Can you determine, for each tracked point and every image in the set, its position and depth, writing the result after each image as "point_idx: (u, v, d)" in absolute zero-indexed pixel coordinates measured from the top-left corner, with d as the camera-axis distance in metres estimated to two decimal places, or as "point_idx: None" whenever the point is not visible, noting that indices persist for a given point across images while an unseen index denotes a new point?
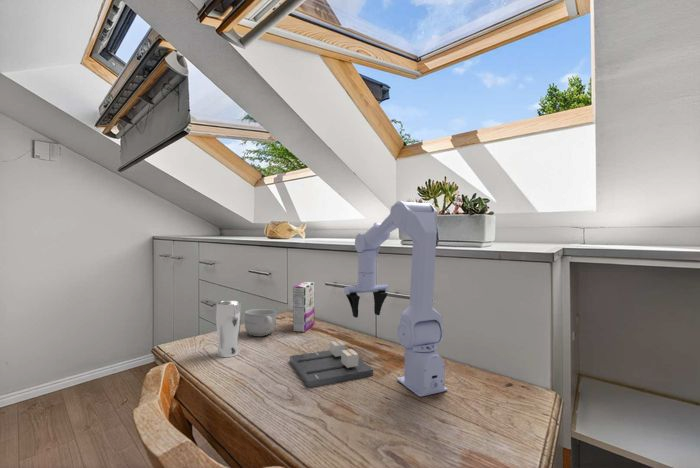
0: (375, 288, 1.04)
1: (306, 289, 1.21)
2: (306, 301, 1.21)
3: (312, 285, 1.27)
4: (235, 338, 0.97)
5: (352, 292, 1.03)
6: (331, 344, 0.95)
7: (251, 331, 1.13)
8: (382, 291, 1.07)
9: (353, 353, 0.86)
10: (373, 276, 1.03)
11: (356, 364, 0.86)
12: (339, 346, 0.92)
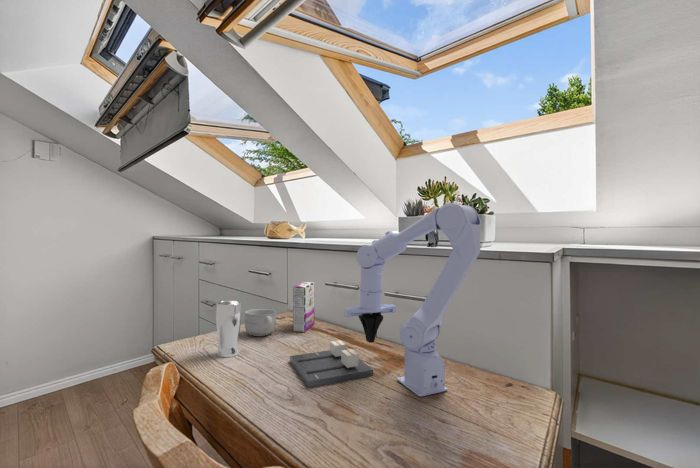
0: (381, 310, 0.88)
1: (306, 289, 1.21)
2: (306, 301, 1.21)
3: (312, 285, 1.27)
4: (235, 338, 0.97)
5: (353, 314, 0.87)
6: (331, 344, 0.95)
7: (251, 331, 1.13)
8: (389, 312, 0.91)
9: (353, 353, 0.86)
10: (378, 295, 0.87)
11: (356, 364, 0.86)
12: (339, 346, 0.92)
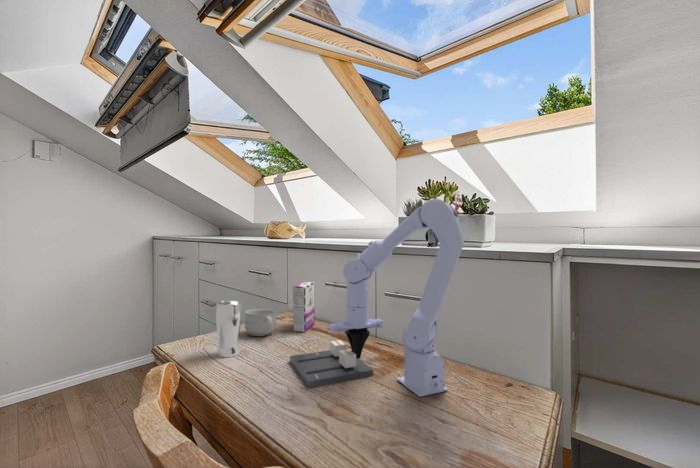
0: (367, 325, 0.86)
1: (306, 289, 1.21)
2: (306, 301, 1.21)
3: (312, 285, 1.27)
4: (235, 338, 0.97)
5: (339, 330, 0.85)
6: (331, 344, 0.95)
7: (251, 331, 1.13)
8: (375, 327, 0.89)
9: (351, 353, 0.86)
10: (364, 311, 0.86)
11: (354, 364, 0.85)
12: (339, 346, 0.92)
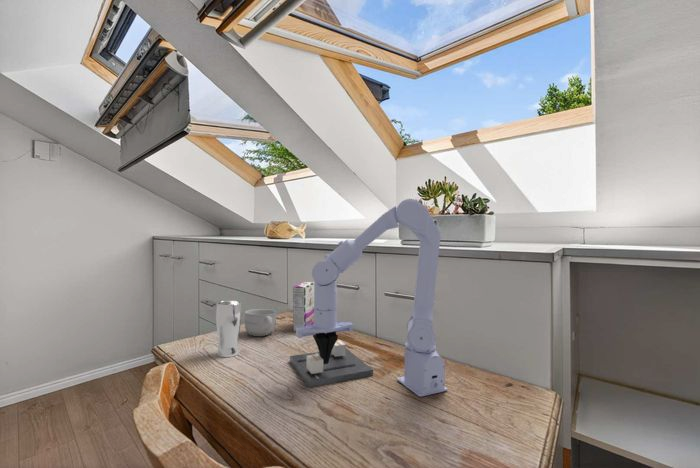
0: (335, 329, 0.82)
1: (306, 289, 1.21)
2: (306, 301, 1.21)
3: (312, 285, 1.27)
4: (235, 338, 0.97)
5: (305, 334, 0.82)
6: None
7: (251, 331, 1.13)
8: None
9: (318, 358, 0.82)
10: (332, 314, 0.82)
11: (321, 370, 0.82)
12: (339, 346, 0.92)
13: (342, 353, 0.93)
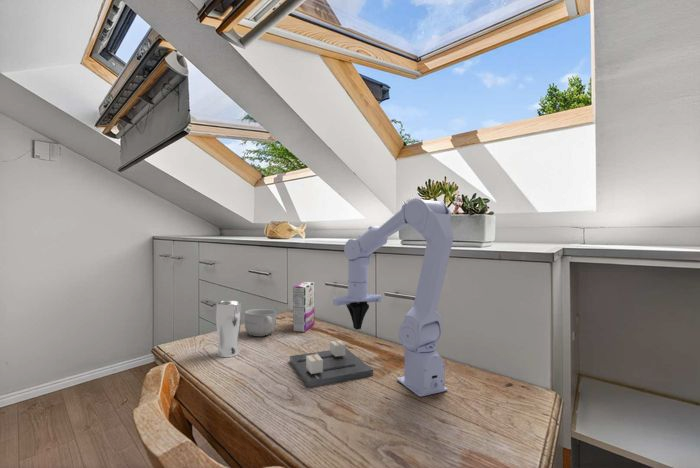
0: (367, 299, 0.95)
1: (306, 289, 1.21)
2: (306, 301, 1.21)
3: (312, 285, 1.27)
4: (235, 338, 0.97)
5: (341, 303, 0.94)
6: (331, 344, 0.95)
7: (251, 331, 1.13)
8: None
9: (318, 358, 0.82)
10: (364, 286, 0.95)
11: (320, 370, 0.82)
12: (339, 346, 0.92)
13: (342, 353, 0.93)
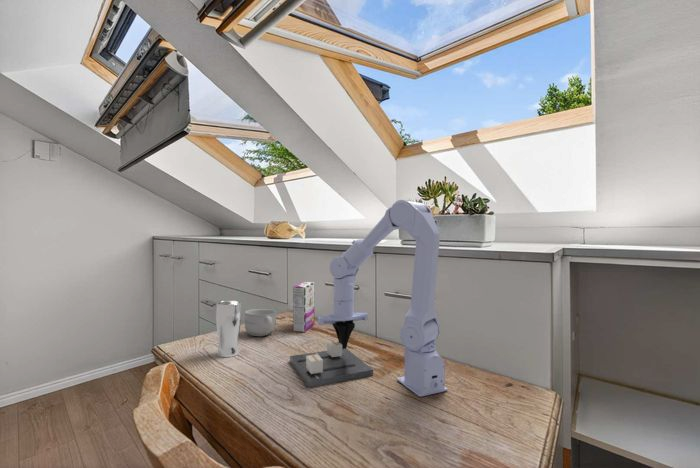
0: (352, 318, 0.93)
1: (306, 289, 1.21)
2: (306, 301, 1.21)
3: (312, 285, 1.27)
4: (235, 338, 0.97)
5: (326, 322, 0.92)
6: (328, 344, 0.94)
7: (251, 331, 1.13)
8: None
9: (318, 358, 0.82)
10: (350, 305, 0.93)
11: (320, 370, 0.82)
12: (336, 346, 0.92)
13: (339, 354, 0.92)
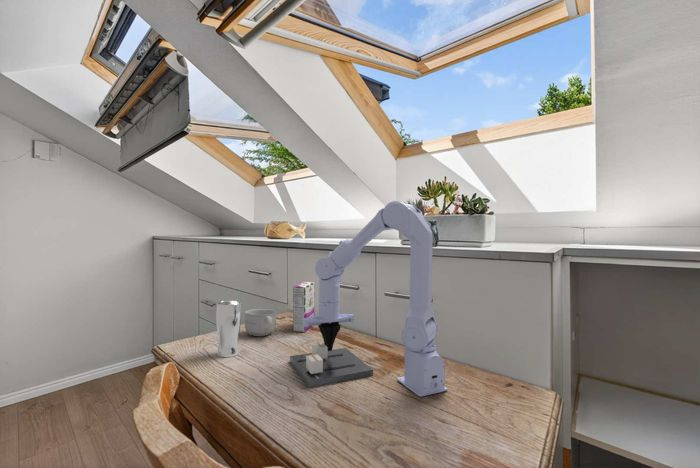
0: (338, 319, 0.91)
1: (306, 289, 1.21)
2: (306, 301, 1.21)
3: (312, 285, 1.27)
4: (235, 338, 0.97)
5: (311, 324, 0.91)
6: (313, 346, 0.92)
7: (251, 331, 1.13)
8: None
9: (318, 358, 0.82)
10: (335, 306, 0.91)
11: (320, 370, 0.82)
12: (321, 349, 0.90)
13: (324, 356, 0.91)
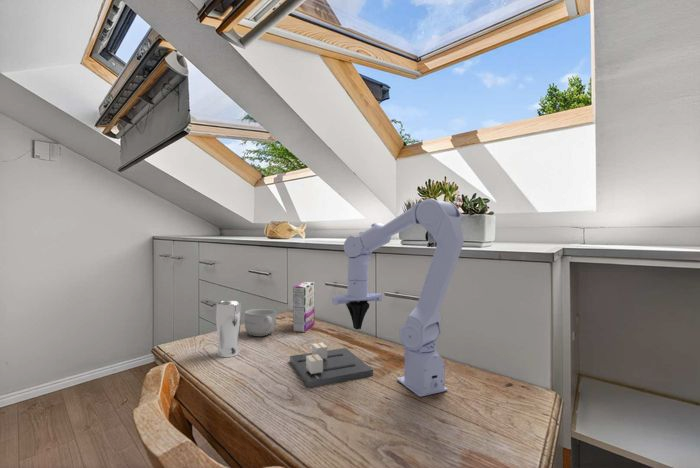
0: (367, 298, 0.92)
1: (306, 289, 1.21)
2: (306, 301, 1.21)
3: (312, 285, 1.27)
4: (235, 338, 0.97)
5: (340, 302, 0.91)
6: (313, 347, 0.92)
7: (251, 331, 1.13)
8: None
9: (318, 358, 0.82)
10: (365, 284, 0.91)
11: (320, 370, 0.82)
12: (321, 349, 0.90)
13: (324, 356, 0.91)
